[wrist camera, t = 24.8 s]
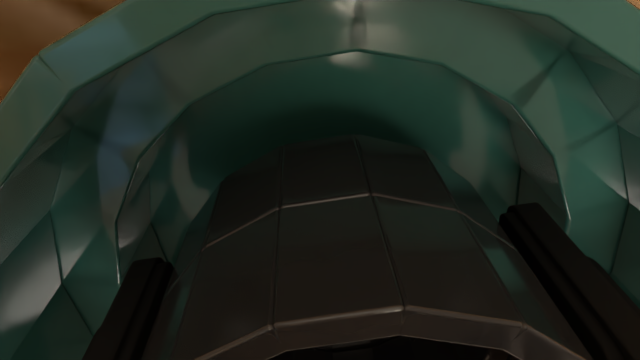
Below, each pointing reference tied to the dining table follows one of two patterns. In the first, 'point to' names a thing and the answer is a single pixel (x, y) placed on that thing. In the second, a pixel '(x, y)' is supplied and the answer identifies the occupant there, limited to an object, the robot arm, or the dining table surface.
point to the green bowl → (301, 128)
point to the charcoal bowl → (353, 266)
